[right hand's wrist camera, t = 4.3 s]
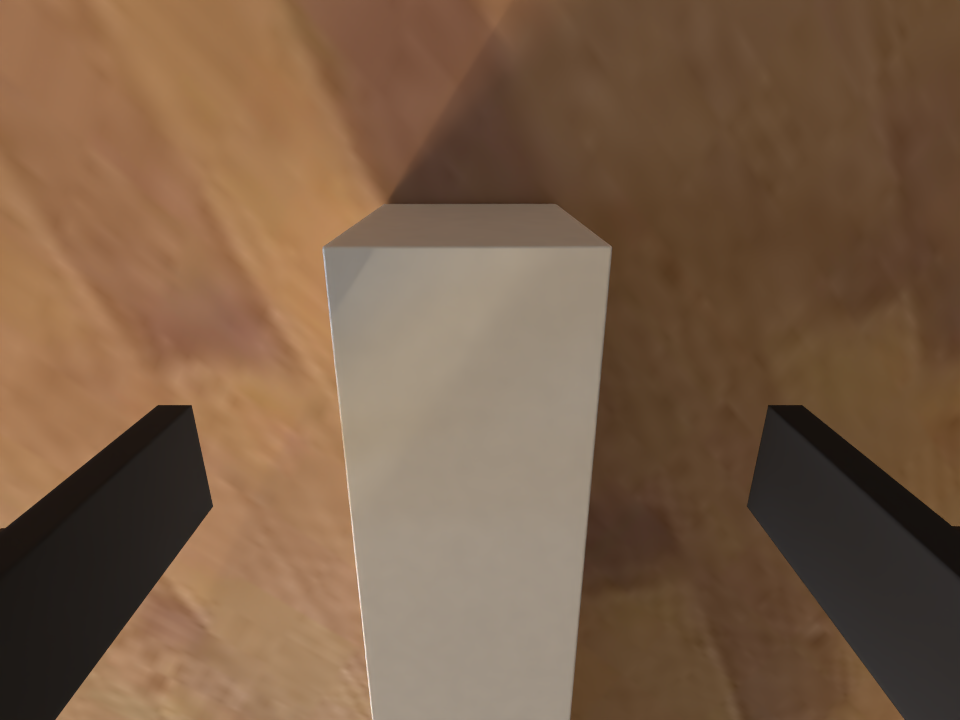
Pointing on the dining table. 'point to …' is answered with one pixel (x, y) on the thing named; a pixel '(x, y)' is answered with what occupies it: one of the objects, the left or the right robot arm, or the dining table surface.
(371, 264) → the bar
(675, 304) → the dining table surface
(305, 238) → the dining table surface
